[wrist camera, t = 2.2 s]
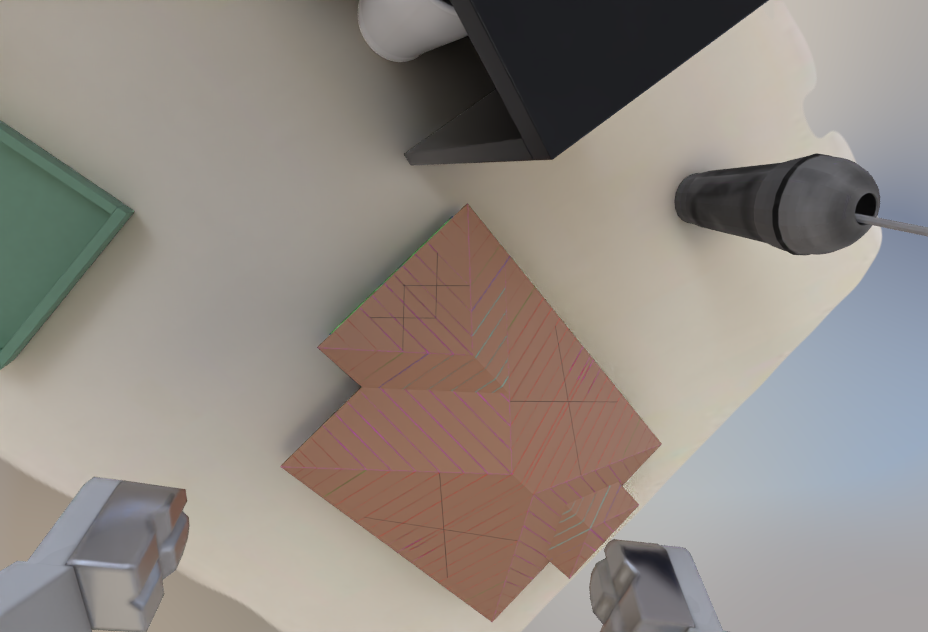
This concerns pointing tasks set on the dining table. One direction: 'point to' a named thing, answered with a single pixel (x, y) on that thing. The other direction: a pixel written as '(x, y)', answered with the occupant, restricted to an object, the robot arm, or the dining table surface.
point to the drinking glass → (408, 26)
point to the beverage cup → (788, 203)
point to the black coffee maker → (567, 69)
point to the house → (474, 424)
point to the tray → (45, 235)
